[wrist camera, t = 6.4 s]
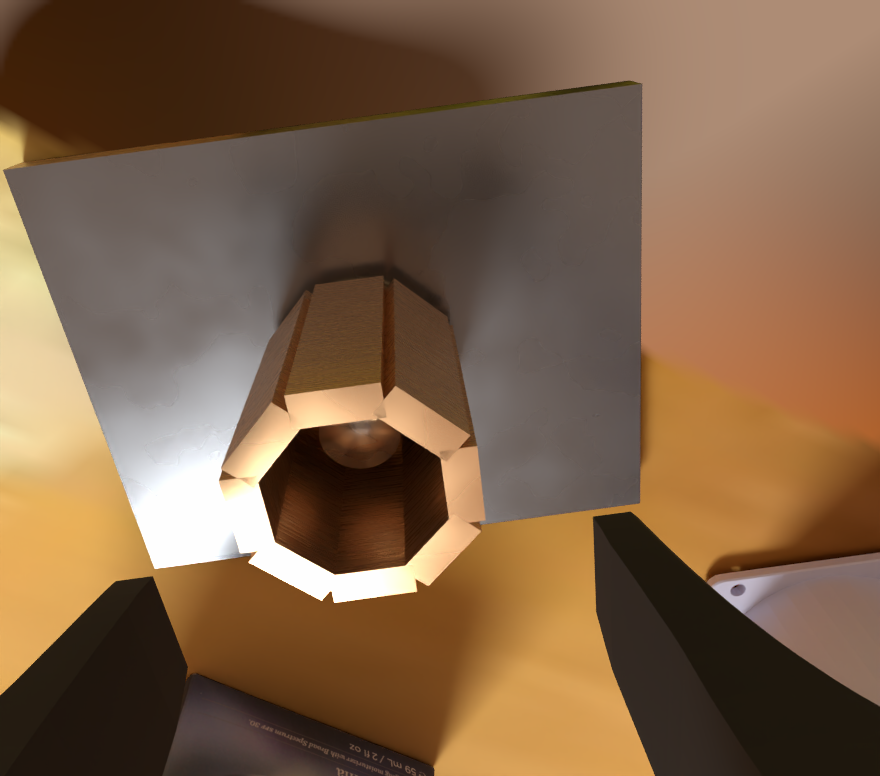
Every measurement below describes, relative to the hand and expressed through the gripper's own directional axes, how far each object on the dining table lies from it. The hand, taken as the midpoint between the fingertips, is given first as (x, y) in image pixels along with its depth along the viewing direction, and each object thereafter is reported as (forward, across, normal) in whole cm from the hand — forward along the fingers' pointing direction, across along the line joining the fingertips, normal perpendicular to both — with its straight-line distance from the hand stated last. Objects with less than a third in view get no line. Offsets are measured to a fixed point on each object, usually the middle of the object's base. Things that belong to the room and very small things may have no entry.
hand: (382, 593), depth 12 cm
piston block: (+10, 0, 0) cm, 10 cm away
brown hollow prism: (+8, 0, 0) cm, 8 cm away
